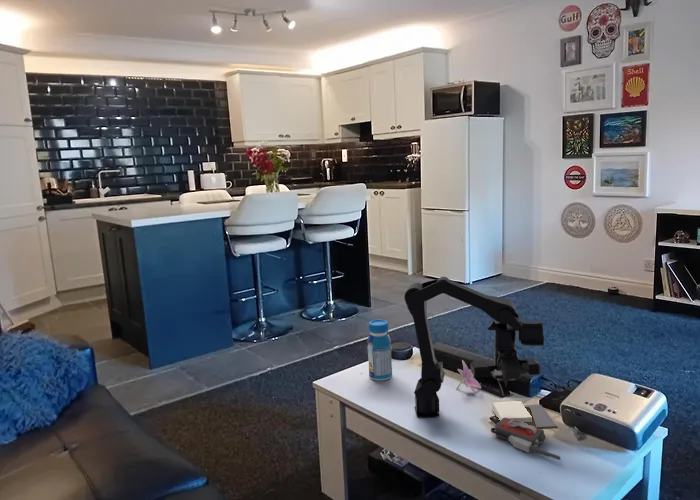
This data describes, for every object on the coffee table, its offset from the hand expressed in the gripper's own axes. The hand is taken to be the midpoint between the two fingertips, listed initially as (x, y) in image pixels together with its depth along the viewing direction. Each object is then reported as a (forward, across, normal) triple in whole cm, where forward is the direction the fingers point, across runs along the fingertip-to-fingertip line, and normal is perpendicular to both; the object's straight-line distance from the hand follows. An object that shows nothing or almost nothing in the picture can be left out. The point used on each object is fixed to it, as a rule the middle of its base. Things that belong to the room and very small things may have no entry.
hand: (504, 395), depth 155 cm
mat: (+7, +6, 0) cm, 9 cm away
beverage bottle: (+7, -34, +34) cm, 49 cm away
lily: (+7, -6, +19) cm, 21 cm away
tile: (+5, -2, 0) cm, 6 cm away
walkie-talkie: (+7, +2, -14) cm, 16 cm away
